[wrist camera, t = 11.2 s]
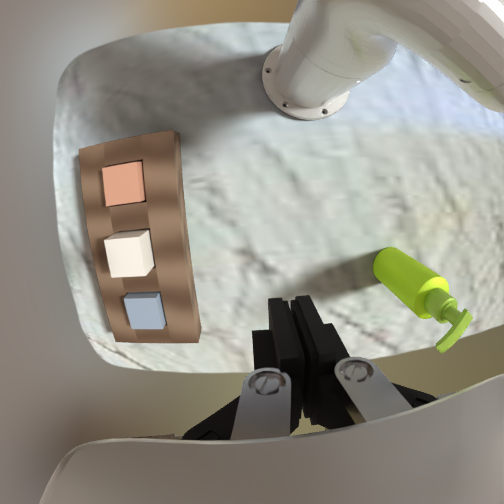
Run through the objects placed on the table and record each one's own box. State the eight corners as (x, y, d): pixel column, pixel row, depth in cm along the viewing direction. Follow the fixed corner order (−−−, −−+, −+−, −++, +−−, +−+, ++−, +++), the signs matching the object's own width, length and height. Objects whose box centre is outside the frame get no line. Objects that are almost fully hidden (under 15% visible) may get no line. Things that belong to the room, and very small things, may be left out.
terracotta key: (114, 167, 35) (102, 168, 31) (146, 162, 35) (136, 161, 31) (118, 202, 36) (106, 206, 33) (150, 197, 36) (140, 201, 33)
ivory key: (116, 232, 36) (103, 240, 32) (149, 229, 36) (139, 236, 32) (122, 267, 37) (111, 277, 33) (154, 265, 37) (145, 276, 33)
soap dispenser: (361, 274, 42) (429, 343, 23) (388, 239, 41) (470, 290, 22) (383, 292, 44) (450, 361, 24) (408, 260, 42) (487, 314, 23)
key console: (92, 149, 35) (78, 149, 31) (179, 133, 35) (172, 129, 32) (123, 329, 44) (115, 341, 40) (201, 328, 44) (198, 342, 40)
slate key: (133, 287, 40) (123, 298, 36) (163, 286, 40) (156, 297, 36) (139, 316, 42) (131, 329, 38) (169, 315, 42) (162, 329, 38)
